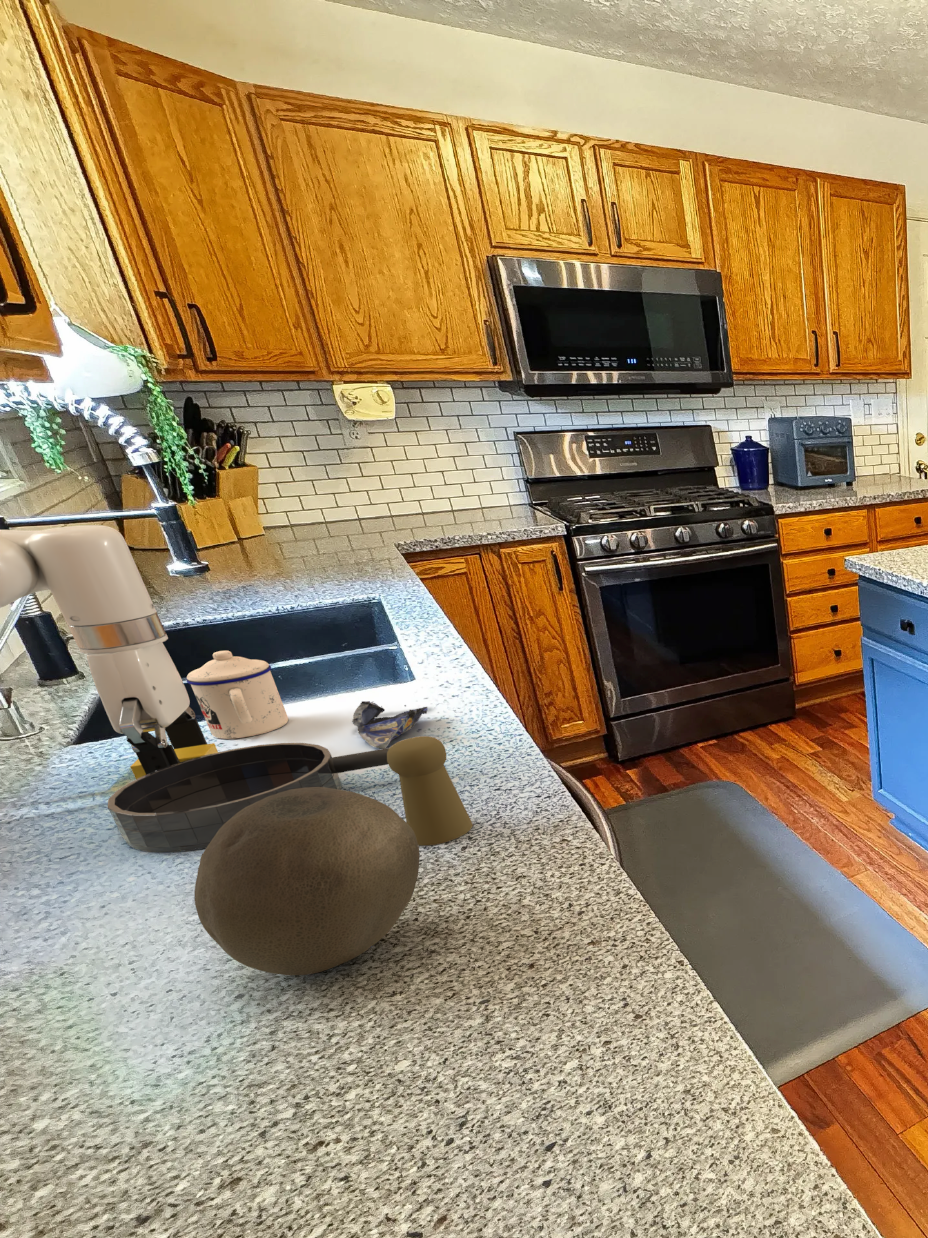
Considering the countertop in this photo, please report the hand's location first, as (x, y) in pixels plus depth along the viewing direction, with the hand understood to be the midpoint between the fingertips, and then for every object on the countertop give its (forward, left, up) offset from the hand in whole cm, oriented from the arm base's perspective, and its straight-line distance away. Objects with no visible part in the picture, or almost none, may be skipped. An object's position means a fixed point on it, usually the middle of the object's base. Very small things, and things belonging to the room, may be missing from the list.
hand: (180, 763), depth 102 cm
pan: (+9, -16, -2) cm, 18 cm away
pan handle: (+24, -16, +1) cm, 29 cm away
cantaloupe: (+24, -55, -2) cm, 60 cm away
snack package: (+22, +3, -2) cm, 22 cm away
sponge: (0, 0, -2) cm, 2 cm away
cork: (+30, -34, -2) cm, 45 cm away
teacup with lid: (+4, +15, -2) cm, 16 cm away
